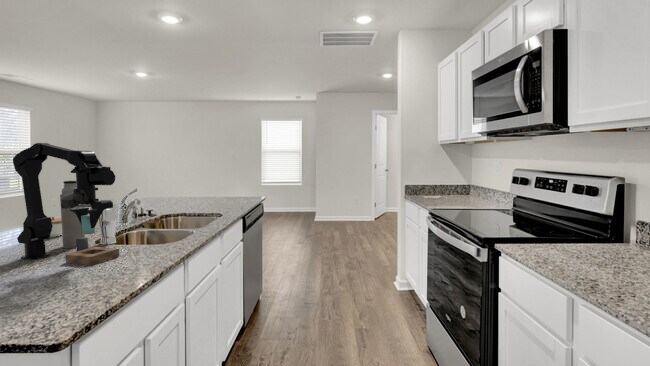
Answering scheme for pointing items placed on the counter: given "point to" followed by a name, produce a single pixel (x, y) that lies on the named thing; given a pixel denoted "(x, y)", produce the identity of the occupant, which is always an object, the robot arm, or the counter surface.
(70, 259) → the socket block
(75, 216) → the thermos bottle
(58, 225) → the lidded jar
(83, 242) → the black dowel
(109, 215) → the beer glass
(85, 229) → the peg
